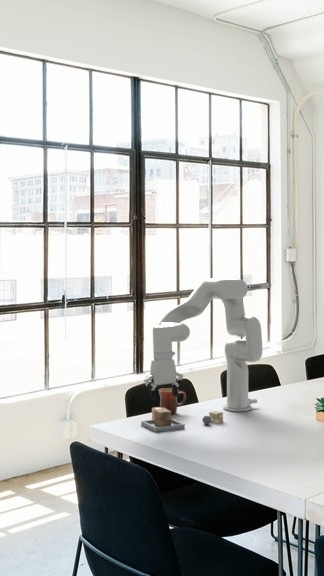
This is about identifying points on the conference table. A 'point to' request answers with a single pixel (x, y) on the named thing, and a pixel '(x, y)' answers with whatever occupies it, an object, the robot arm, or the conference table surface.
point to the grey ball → (206, 420)
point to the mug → (170, 399)
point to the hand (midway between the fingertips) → (164, 397)
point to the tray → (174, 426)
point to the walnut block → (162, 417)
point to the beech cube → (216, 416)
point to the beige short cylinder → (154, 411)
